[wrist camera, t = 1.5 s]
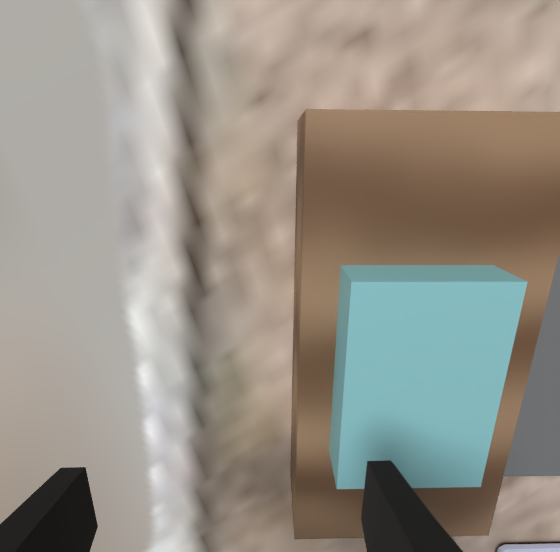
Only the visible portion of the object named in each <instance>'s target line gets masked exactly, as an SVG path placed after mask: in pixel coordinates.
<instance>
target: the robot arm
mask: <svg viewBox="0 0 560 552" xmlns="http://www.w3.org/2000/svg"><path fill="white" fill-rule="evenodd" d="M361 522H362V527H363V532H364V538H365V543H366V548H367V552H463V551H462V550H461V549H460V548H459V546H458V545H457V544H456V543H455V542H454V540H453V539H452V538H451V537H450V536H449V534H448V533H447V532H446V531H445V529H444V528H443V527H442V526H441V525H440V523H439V522H438V521H437V520H436V518H435V517H434V516H433V515H432V513H431V512H430V511H429V510H428V508H427V507H426V506H425V504H424V503H423V502H422V501H421V499H420V498H419V497H418V495H417V494H416V493H415V491H414V490H413V489H412V487H411V486H410V485H409V483H408V482H407V481H406V479H405V478H404V477H403V475H402V474H401V473H400V471H399V470H398V469H397V467H396V466H395V465H394V463H393V462H392V461H391V460H386V461H367V468H366V477H365V486H364V495H363V504H362V513H361ZM97 527H98V526H97V521H96V516H95V511H94V506H93V501H92V497H91V493H90V487H89V482H88V477H87V473H86V468H85V467H83V468H81V467H80V468H60V469H59V470H58V471H57V472H56V473H55V474H54V475H53V476H51V477H50V478H49V479H48V480H47V481H46V482H45V483H44V484H43V485H42V486H41V487H40V488H39V489H38V490H36V491H35V492H34V493H33V494H32V495H31V496H30V497H29V498H28V499H27V500H26V501H25V502H24V503H23V504H22V505H20V506H19V507H18V508H17V509H16V510H15V511H14V512H13V513H12V514H11V515H10V516H9V517H8V518H7V519H5V520H4V521H3V522H2V523H1V524H0V552H90V548H91V545H92V542H93V539H94V536H95V533H96V530H97ZM497 552H560V543H549V544H505V545H502V546H500V547H499V548H498V551H497Z"/></svg>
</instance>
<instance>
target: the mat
mask: <svg viewBox="0 0 560 552" xmlns="http://www.w3.org/2000/svg"><path fill="white" fill-rule="evenodd" d="M503 476H560V252H559V256H558V260H557V264H556V268H555V272H554V276H553V280H552V284H551V288H550V292H549V296H548V300H547V304H546V308H545V312H544V316H543V320H542V324H541V328H540V332H539V336H538V340H537V344H536V348H535V352H534V356H533V360H532V364H531V368H530V372H529V376H528V380H527V384H526V388H525V392H524V396H523V400H522V404H521V408H520V412H519V416H518V420H517V423H516V427H515V431H514V435H513V439H512V443H511V447H510V451H509V455H508V459H507V463H506V467H505V471H504V475H503Z"/></svg>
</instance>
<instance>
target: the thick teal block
mask: <svg viewBox="0 0 560 552" xmlns="http://www.w3.org/2000/svg"><path fill="white" fill-rule="evenodd" d="M527 283H528V282H527V281H525V280H523V279H521V278H519V277H517V276H515V275H513V274H511V273H509V272H507V271H505V270H503V269H500V268H498V267H496V266H494V265H341V266H340V283H339V299H338V316H337V332H336V349H335V365H334V382H333V398H332V415H331V431H330V448H329V453H330V458H331V463H332V468H333V473H334V478H335V483H336V488H337V489H364V486H365V477H366V468H367V461H386V460H391V461H392V462H393V463H394V465H395V466H396V467H397V469H398V470H399V471H400V473H401V474H402V475H403V477H404V478H405V479H406V481H407V482H408V483H409V485H410V486H411V487H412V488H448V487H481V484H482V479H483V475H484V470H485V466H486V462H487V457H488V453H489V449H490V444H491V440H492V435H493V431H494V427H495V422H496V418H497V414H498V409H499V405H500V401H501V396H502V392H503V387H504V383H505V379H506V374H507V370H508V366H509V361H510V357H511V353H512V348H513V344H514V339H515V335H516V331H517V326H518V322H519V318H520V313H521V309H522V305H523V300H524V296H525V291H526V287H527Z"/></svg>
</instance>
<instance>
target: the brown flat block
mask: <svg viewBox="0 0 560 552" xmlns="http://www.w3.org/2000/svg"><path fill="white" fill-rule="evenodd" d="M559 252H560V112H512V111H418V110H324V109H306V110H305V111H304V113H303V114H302V115H301V117H300V118H299V120H298V131H297V180H296V229H295V278H294V328H293V377H292V426H291V490H292V506H293V522H294V538H295V539H322V538H364V532H363V527H362V522H361V513H362V504H363V495H364V489H337V488H336V483H335V478H334V473H333V468H332V463H331V458H330V453H329V448H330V431H331V415H332V398H333V382H334V365H335V349H336V332H337V316H338V299H339V283H340V266H341V265H494V266H496V267H498V268H500V269H503V270H505V271H507V272H509V273H511V274H513V275H515V276H517V277H519V278H521V279H523V280H525V281H527V282H528V283H527V287H526V291H525V296H524V300H523V305H522V309H521V313H520V318H519V322H518V326H517V331H516V335H515V339H514V344H513V348H512V353H511V357H510V361H509V366H508V370H507V374H506V379H505V383H504V387H503V392H502V396H501V401H500V405H499V409H498V414H497V418H496V422H495V427H494V431H493V435H492V440H491V444H490V449H489V453H488V457H487V462H486V466H485V470H484V475H483V479H482V484H481V487H448V488H412V489H413V490H414V491H415V493H416V494H417V495H418V497H419V498H420V499H421V501H422V502H423V503H424V504H425V506H426V507H427V508H428V510H429V511H430V512H431V513H432V515H433V516H434V517H435V518H436V520H437V521H438V522H439V523H440V525H441V526H442V527H443V528H444V529H445V531H446V532H447V533H448V534H449V536H482V535H489V531H490V527H491V523H492V519H493V515H494V511H495V507H496V503H497V499H498V495H499V491H500V487H501V483H502V479H503V475H504V471H505V467H506V463H507V459H508V455H509V451H510V447H511V443H512V439H513V435H514V431H515V427H516V423H517V420H518V416H519V412H520V408H521V404H522V400H523V396H524V392H525V388H526V384H527V380H528V376H529V372H530V368H531V364H532V360H533V356H534V352H535V348H536V344H537V340H538V336H539V332H540V328H541V324H542V320H543V316H544V312H545V308H546V304H547V300H548V296H549V292H550V288H551V284H552V280H553V276H554V272H555V268H556V264H557V260H558V256H559Z"/></svg>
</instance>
